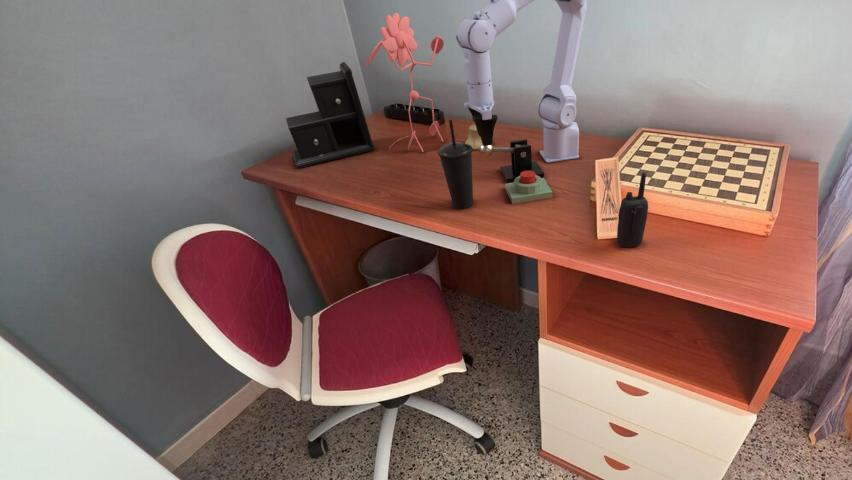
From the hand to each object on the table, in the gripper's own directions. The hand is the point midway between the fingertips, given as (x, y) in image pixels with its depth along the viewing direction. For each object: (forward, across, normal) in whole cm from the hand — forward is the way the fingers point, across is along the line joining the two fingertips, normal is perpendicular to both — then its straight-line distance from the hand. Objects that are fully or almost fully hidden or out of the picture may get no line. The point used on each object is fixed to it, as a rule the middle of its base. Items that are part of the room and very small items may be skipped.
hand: (485, 140), depth 105 cm
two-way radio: (+11, +39, +22) cm, 46 cm away
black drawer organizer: (+11, -34, -43) cm, 56 cm away
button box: (+10, +11, +8) cm, 17 cm away
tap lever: (+5, 0, +4) cm, 6 cm away
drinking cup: (+11, +11, -8) cm, 18 cm away
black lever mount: (+10, 0, +9) cm, 14 cm away
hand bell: (+11, -25, +1) cm, 27 cm away
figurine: (+11, -33, -17) cm, 39 cm away
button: (+7, +11, +8) cm, 15 cm away
